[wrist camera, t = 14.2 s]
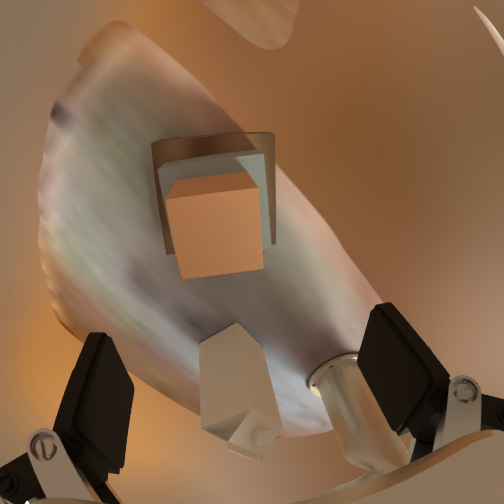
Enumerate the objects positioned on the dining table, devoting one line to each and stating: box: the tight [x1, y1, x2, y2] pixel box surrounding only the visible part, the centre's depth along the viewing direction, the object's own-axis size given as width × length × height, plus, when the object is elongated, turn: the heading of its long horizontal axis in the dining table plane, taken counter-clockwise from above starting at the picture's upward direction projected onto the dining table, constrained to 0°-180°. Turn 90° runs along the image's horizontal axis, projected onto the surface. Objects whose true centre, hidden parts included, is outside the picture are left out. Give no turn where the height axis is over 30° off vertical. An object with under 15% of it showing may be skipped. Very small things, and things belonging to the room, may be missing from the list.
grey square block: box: [158, 149, 272, 263], centre depth 26 cm, size 9×9×4 cm
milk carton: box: [199, 322, 283, 463], centre depth 33 cm, size 7×7×19 cm
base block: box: [151, 132, 276, 254], centre depth 29 cm, size 12×12×4 cm
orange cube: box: [166, 171, 264, 279], centre depth 21 cm, size 6×6×6 cm
